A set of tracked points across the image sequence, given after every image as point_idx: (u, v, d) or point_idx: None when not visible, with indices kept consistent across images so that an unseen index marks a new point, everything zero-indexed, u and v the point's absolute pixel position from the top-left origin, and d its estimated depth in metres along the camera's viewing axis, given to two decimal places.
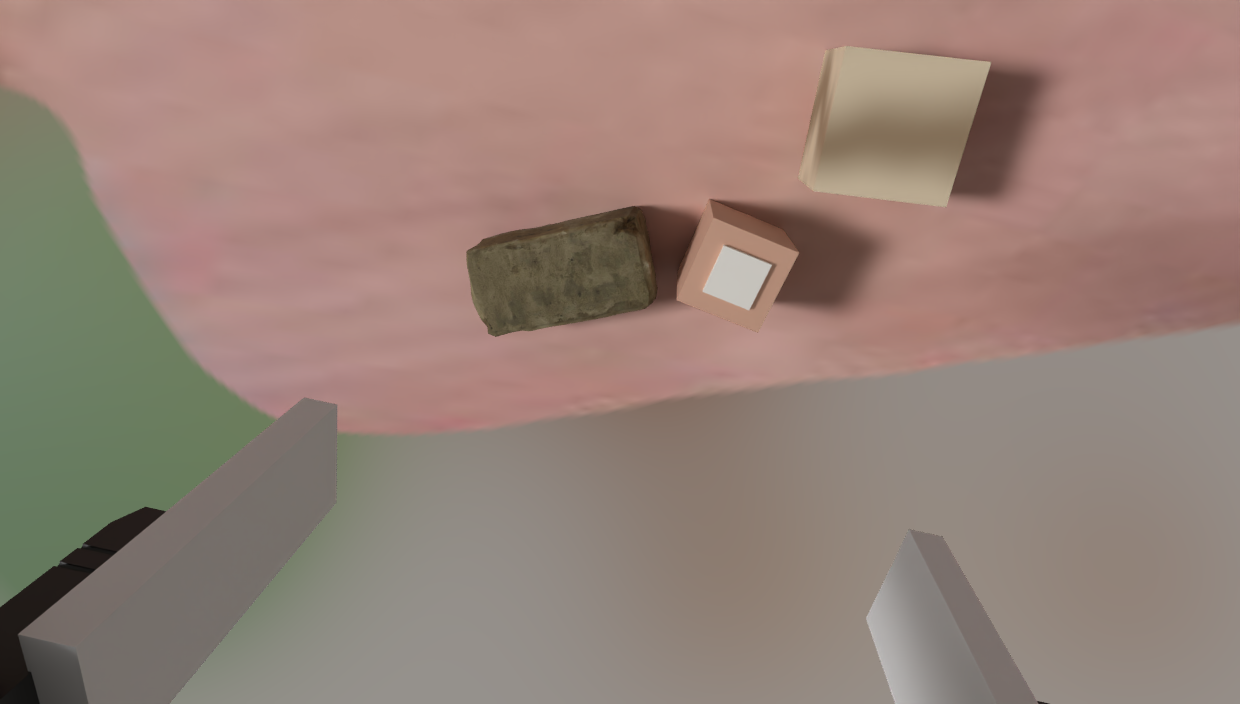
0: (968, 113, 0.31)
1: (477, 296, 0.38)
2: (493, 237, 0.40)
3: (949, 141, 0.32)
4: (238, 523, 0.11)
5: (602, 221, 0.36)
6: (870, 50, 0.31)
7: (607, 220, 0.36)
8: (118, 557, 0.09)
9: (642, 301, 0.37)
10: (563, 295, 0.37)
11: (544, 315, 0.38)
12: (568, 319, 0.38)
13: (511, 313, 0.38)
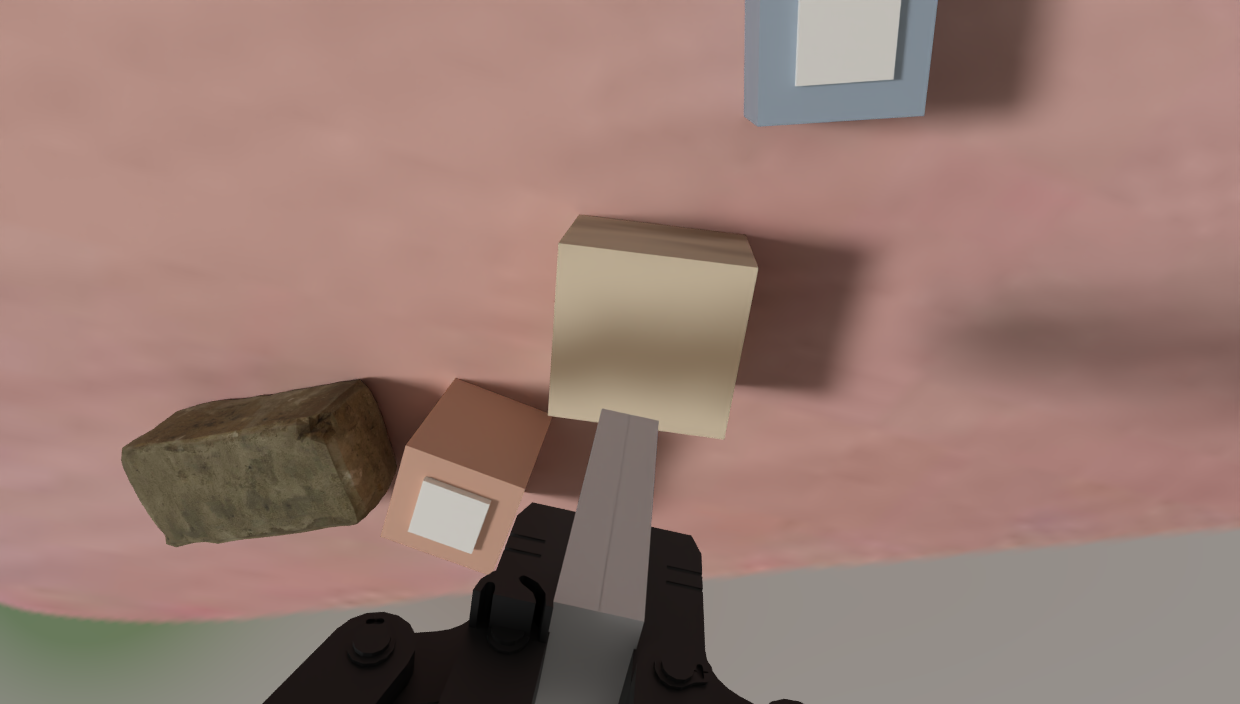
0: (736, 329, 0.23)
1: (143, 502, 0.29)
2: (182, 414, 0.31)
3: (716, 362, 0.23)
4: None
5: (284, 421, 0.27)
6: (592, 249, 0.22)
7: (290, 420, 0.27)
8: (572, 542, 0.11)
9: (348, 518, 0.28)
10: (247, 508, 0.28)
11: (228, 529, 0.29)
12: (260, 534, 0.29)
13: (187, 524, 0.29)
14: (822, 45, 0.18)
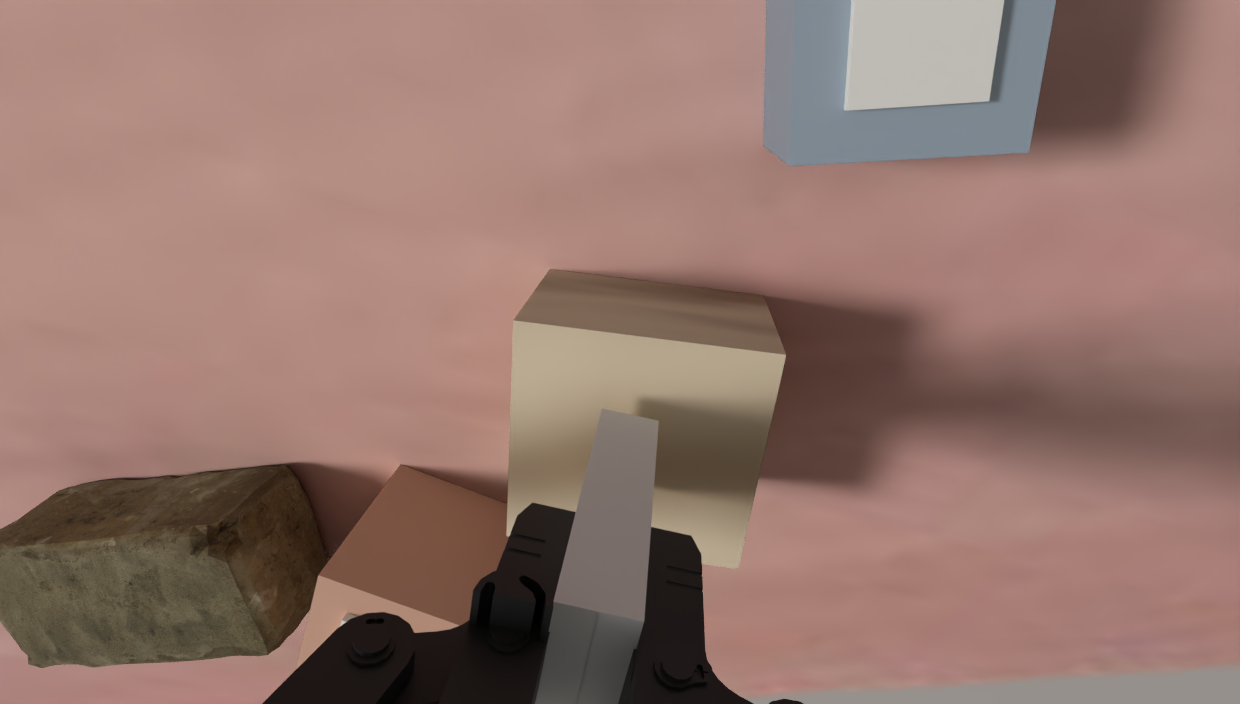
0: (755, 434, 0.17)
1: None
2: (60, 498, 0.25)
3: (728, 474, 0.17)
4: None
5: (176, 529, 0.21)
6: (560, 328, 0.16)
7: (184, 528, 0.21)
8: (572, 542, 0.11)
9: (256, 649, 0.22)
10: (128, 631, 0.22)
11: (104, 653, 0.23)
12: (145, 660, 0.23)
13: (52, 644, 0.23)
14: (887, 52, 0.13)
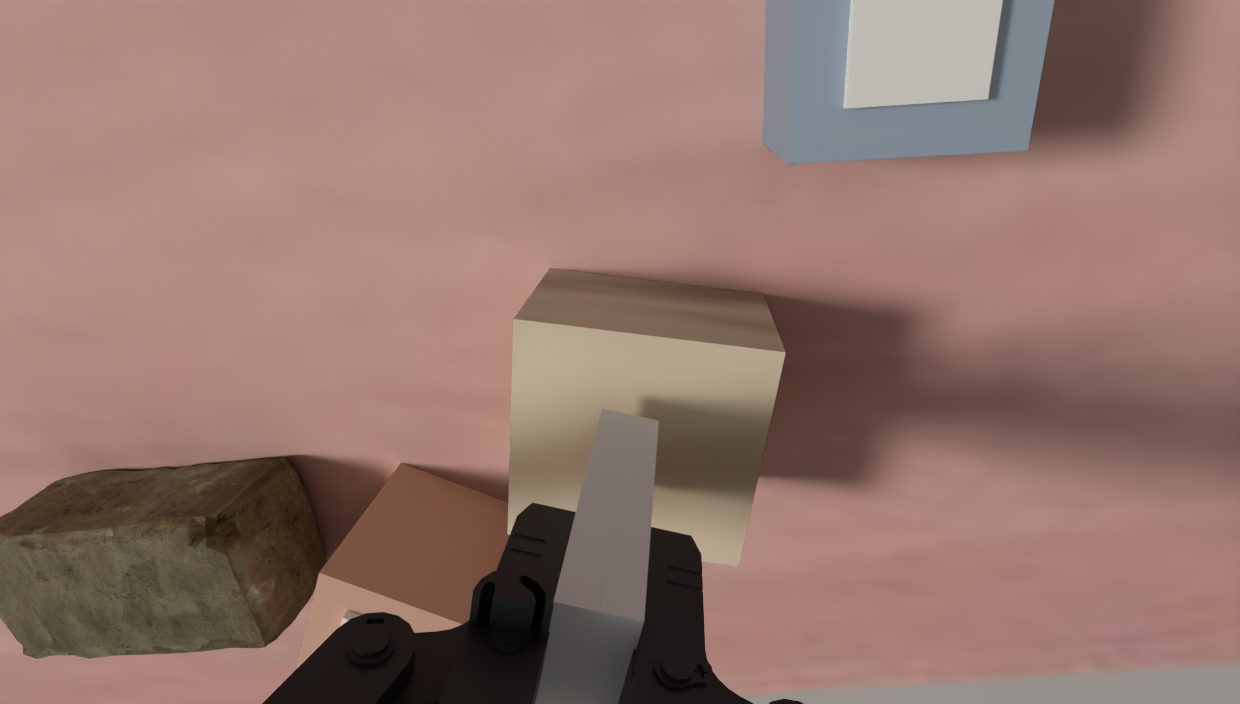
0: (755, 431, 0.17)
1: None
2: (57, 489, 0.25)
3: (728, 472, 0.17)
4: None
5: (174, 520, 0.21)
6: (560, 326, 0.16)
7: (182, 519, 0.21)
8: (572, 543, 0.11)
9: (253, 641, 0.22)
10: (124, 622, 0.22)
11: (100, 644, 0.23)
12: (141, 652, 0.23)
13: (48, 635, 0.23)
14: (886, 50, 0.13)
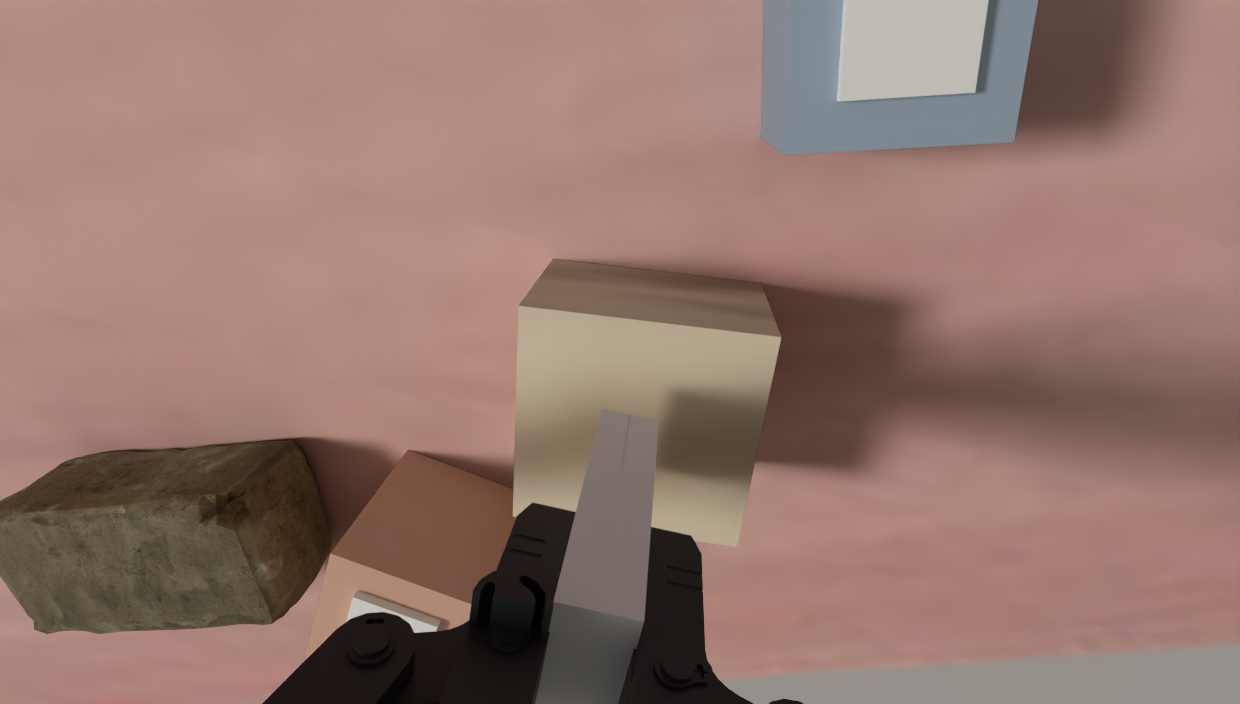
0: (752, 414, 0.17)
1: (6, 580, 0.23)
2: (68, 468, 0.25)
3: (726, 454, 0.18)
4: None
5: (185, 497, 0.22)
6: (563, 313, 0.17)
7: (193, 497, 0.22)
8: (572, 543, 0.11)
9: (261, 618, 0.23)
10: (135, 598, 0.23)
11: (111, 619, 0.23)
12: (151, 627, 0.23)
13: (59, 610, 0.23)
14: (877, 45, 0.13)
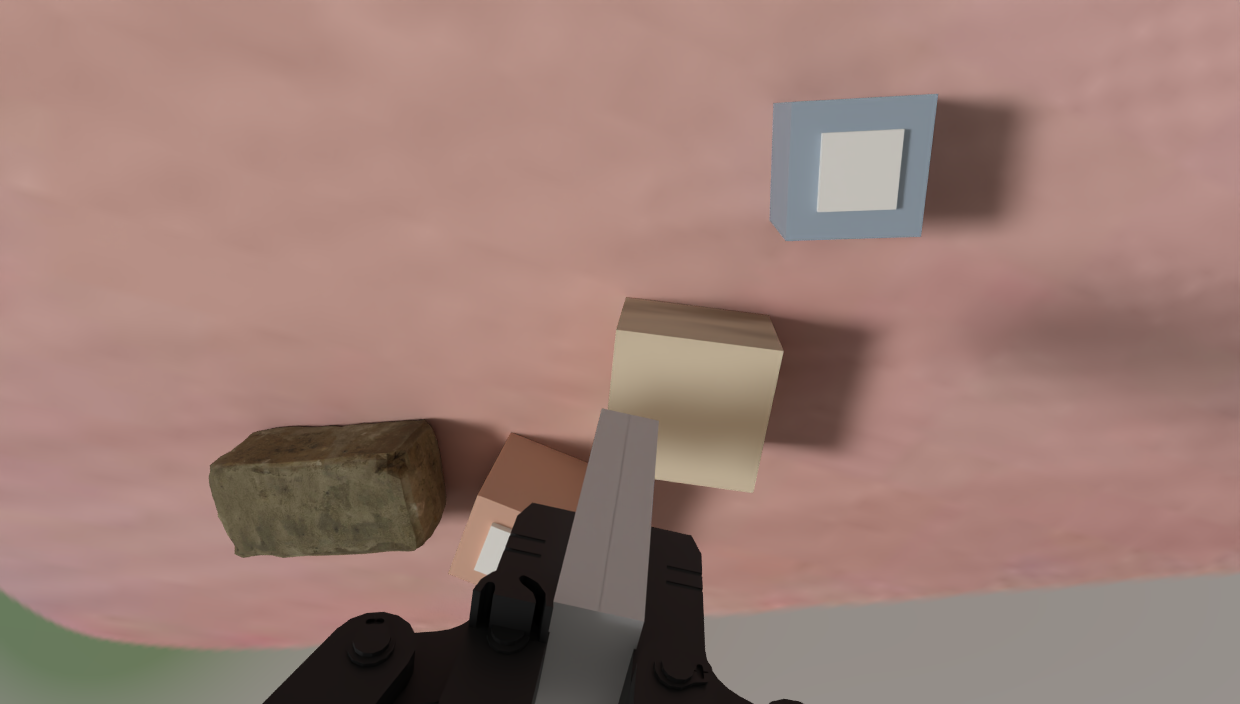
0: (764, 401, 0.27)
1: (221, 515, 0.32)
2: (259, 437, 0.34)
3: (747, 428, 0.27)
4: None
5: (364, 455, 0.31)
6: (645, 334, 0.26)
7: (370, 455, 0.31)
8: (572, 543, 0.11)
9: (409, 545, 0.32)
10: (318, 529, 0.32)
11: (297, 545, 0.32)
12: (325, 552, 0.32)
13: (258, 538, 0.32)
14: (839, 182, 0.23)
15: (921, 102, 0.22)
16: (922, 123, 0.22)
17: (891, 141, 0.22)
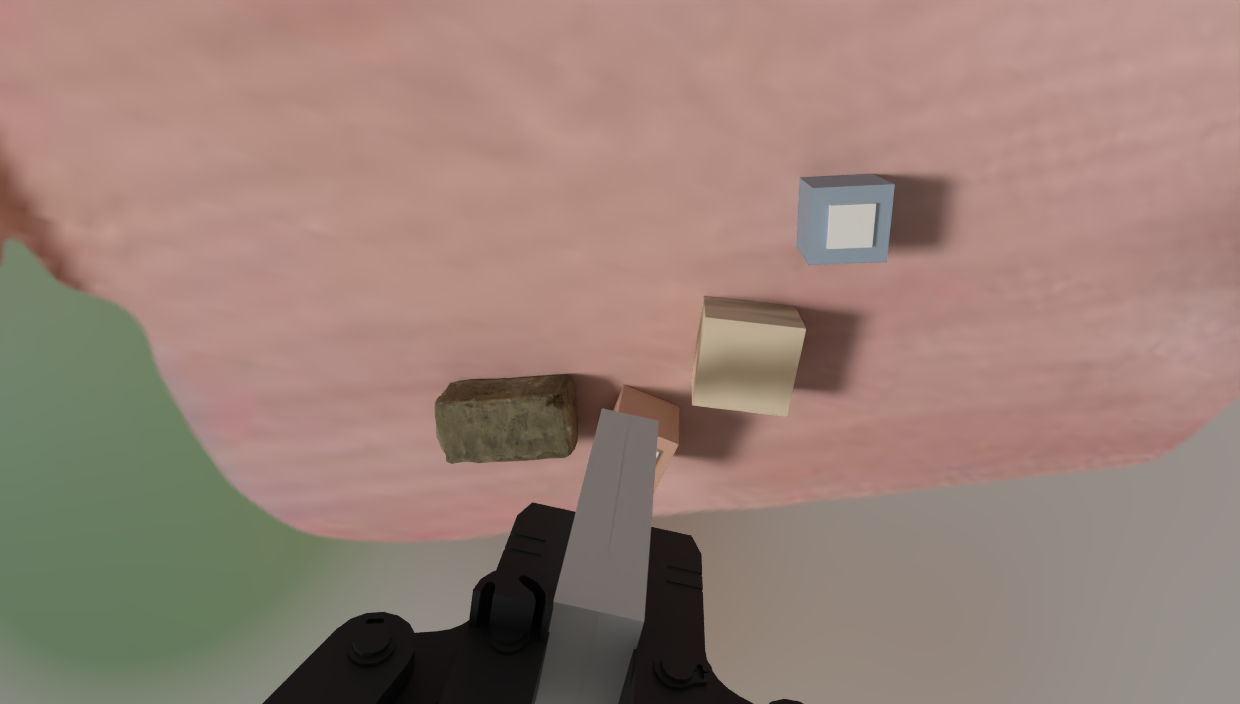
0: (794, 359, 0.44)
1: (440, 435, 0.50)
2: (457, 386, 0.52)
3: (783, 376, 0.45)
4: None
5: (538, 395, 0.48)
6: (722, 320, 0.44)
7: (542, 395, 0.48)
8: (572, 542, 0.11)
9: (563, 453, 0.50)
10: (505, 443, 0.50)
11: (489, 454, 0.50)
12: (507, 459, 0.50)
13: (464, 450, 0.50)
14: (839, 232, 0.40)
15: (885, 188, 0.39)
16: (886, 199, 0.40)
17: (869, 210, 0.40)
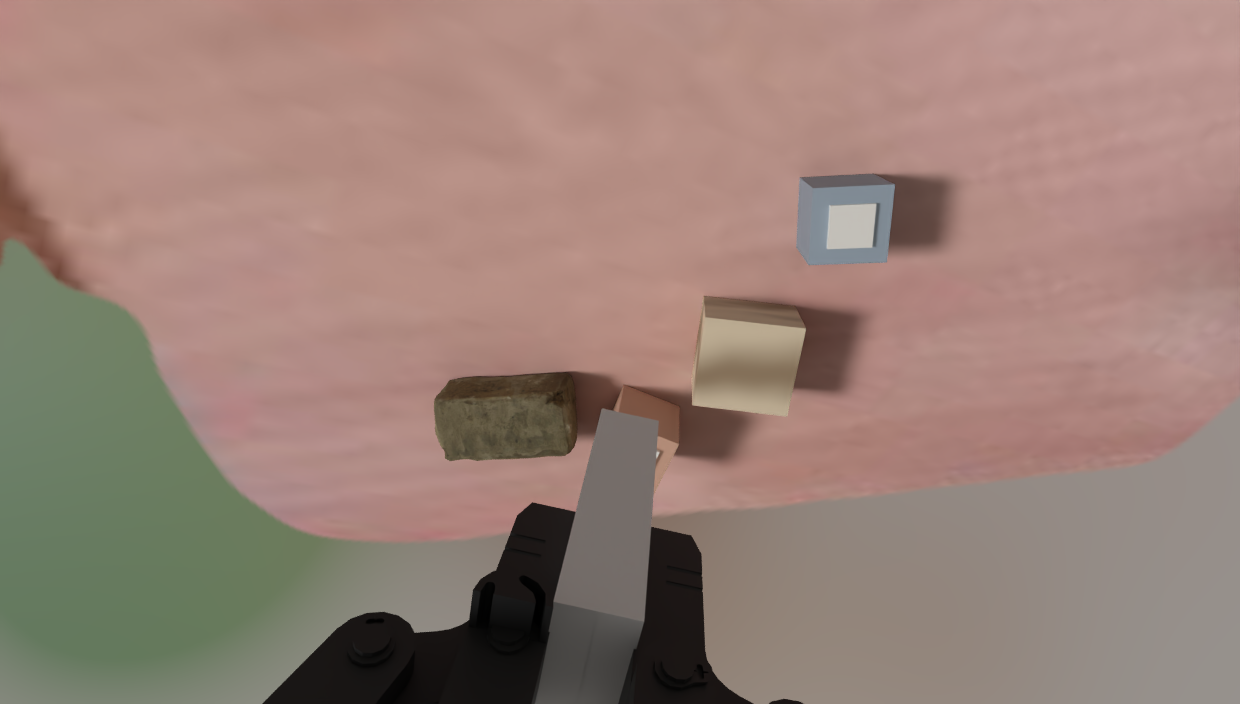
0: (794, 359, 0.44)
1: (439, 432, 0.50)
2: (457, 383, 0.52)
3: (783, 375, 0.45)
4: None
5: (538, 393, 0.48)
6: (722, 320, 0.44)
7: (542, 392, 0.48)
8: (572, 543, 0.11)
9: (562, 451, 0.49)
10: (504, 441, 0.49)
11: (489, 452, 0.50)
12: (506, 456, 0.50)
13: (463, 447, 0.50)
14: (839, 232, 0.40)
15: (885, 188, 0.39)
16: (886, 200, 0.40)
17: (869, 210, 0.40)
